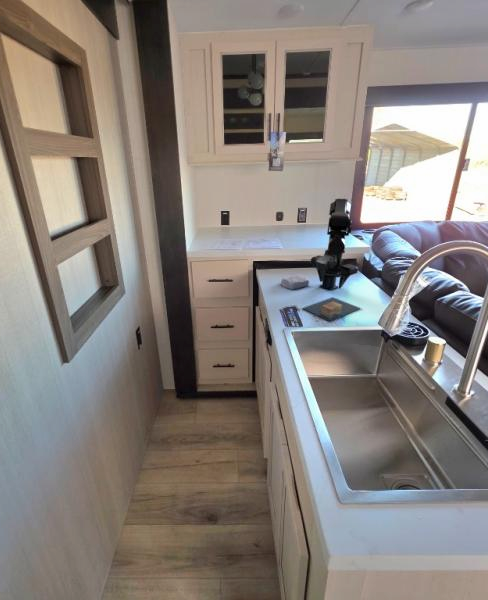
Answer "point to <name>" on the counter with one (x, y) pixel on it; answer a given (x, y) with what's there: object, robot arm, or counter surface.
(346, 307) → the slate mat
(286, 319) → the counter surface
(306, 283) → the stone block
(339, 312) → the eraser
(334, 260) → the robot arm
